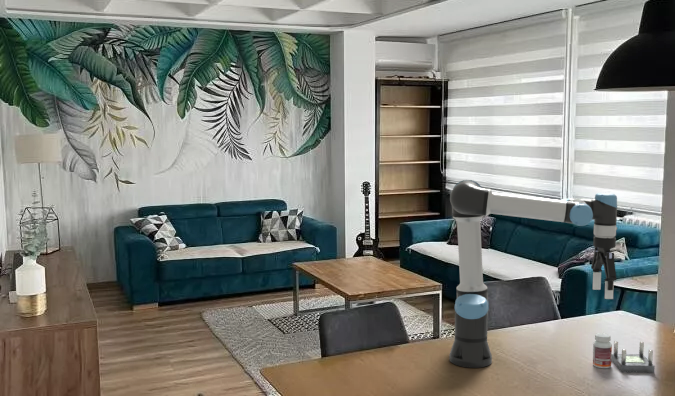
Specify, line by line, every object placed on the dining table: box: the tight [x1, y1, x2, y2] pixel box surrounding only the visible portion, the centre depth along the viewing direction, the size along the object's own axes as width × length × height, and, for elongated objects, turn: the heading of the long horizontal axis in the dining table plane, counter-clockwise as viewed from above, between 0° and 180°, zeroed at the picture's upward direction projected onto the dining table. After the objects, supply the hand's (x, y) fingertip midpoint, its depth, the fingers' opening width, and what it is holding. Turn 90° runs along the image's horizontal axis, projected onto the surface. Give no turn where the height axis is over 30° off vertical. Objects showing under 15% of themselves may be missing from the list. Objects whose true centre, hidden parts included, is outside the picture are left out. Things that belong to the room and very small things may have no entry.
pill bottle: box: [592, 332, 613, 369], centre depth 254 cm, size 6×6×11 cm
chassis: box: [611, 340, 656, 374], centre depth 253 cm, size 11×12×8 cm
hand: (602, 294), depth 260 cm, fingers open, 13 cm apart
